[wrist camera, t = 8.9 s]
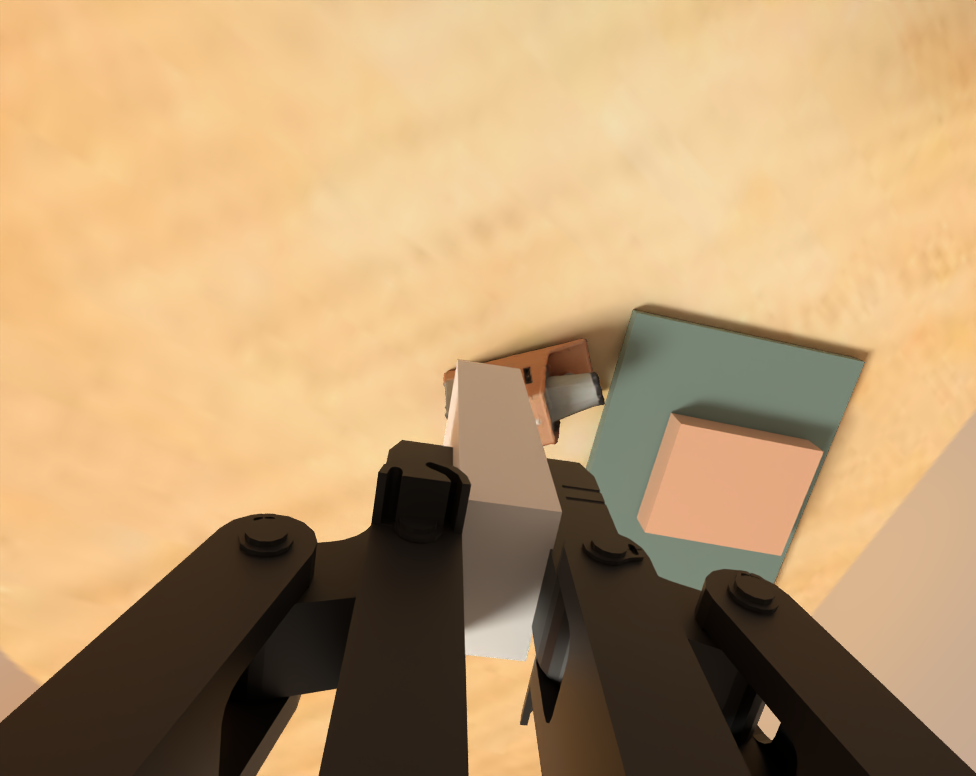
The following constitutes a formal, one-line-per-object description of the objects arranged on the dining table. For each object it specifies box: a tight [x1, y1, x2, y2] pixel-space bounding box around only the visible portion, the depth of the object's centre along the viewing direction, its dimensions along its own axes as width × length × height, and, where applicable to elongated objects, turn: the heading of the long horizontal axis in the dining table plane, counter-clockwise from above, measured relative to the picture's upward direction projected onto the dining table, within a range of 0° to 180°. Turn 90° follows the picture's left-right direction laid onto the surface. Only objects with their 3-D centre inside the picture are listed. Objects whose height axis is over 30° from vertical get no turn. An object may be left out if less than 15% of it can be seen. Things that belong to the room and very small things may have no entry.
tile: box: [637, 413, 823, 556], centre depth 46 cm, size 8×2×10 cm
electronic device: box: [443, 339, 605, 446], centre depth 41 cm, size 4×10×8 cm, turn 105°
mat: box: [586, 310, 865, 591], centre depth 47 cm, size 20×16×1 cm
